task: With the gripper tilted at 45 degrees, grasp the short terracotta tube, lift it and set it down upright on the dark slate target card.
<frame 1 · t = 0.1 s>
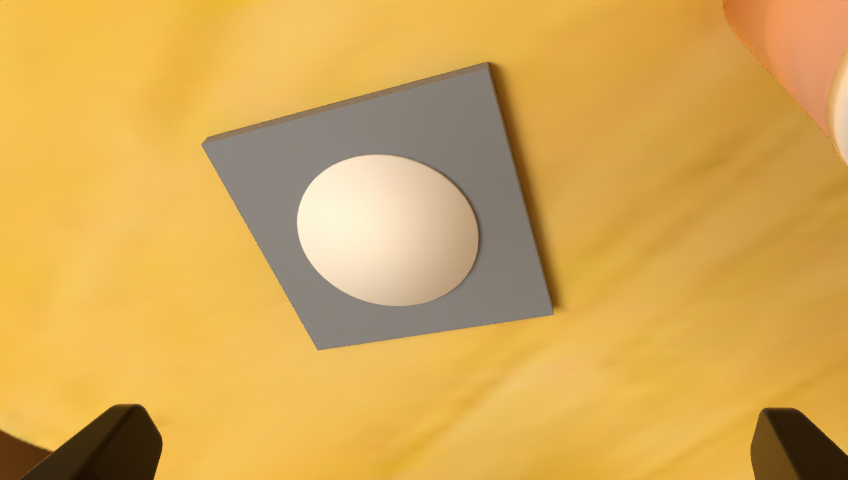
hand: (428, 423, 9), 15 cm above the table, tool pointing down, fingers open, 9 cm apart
target card: (389, 225, 25), on the table
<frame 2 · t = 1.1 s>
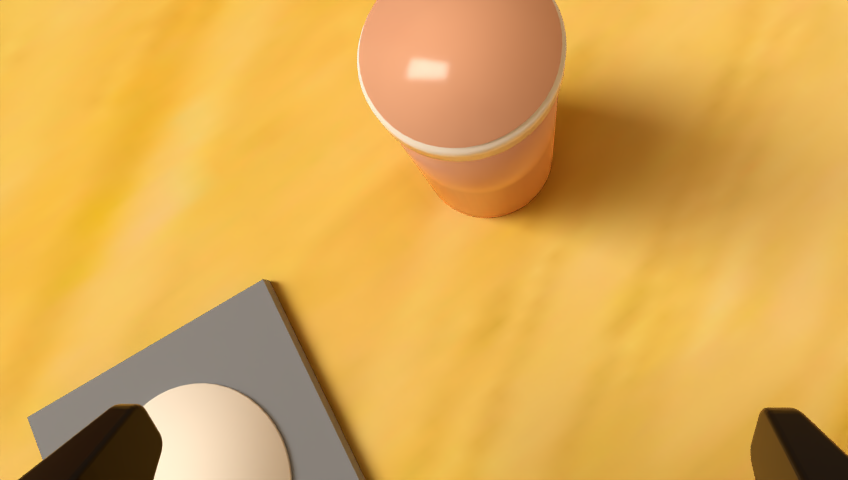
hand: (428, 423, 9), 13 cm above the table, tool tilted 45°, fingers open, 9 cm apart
terracotta tube: (487, 154, 23), on the table
target card: (207, 479, 23), on the table
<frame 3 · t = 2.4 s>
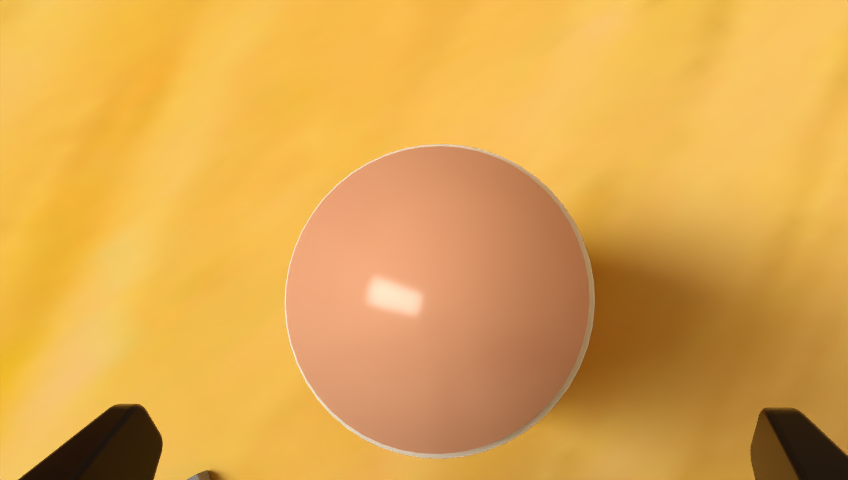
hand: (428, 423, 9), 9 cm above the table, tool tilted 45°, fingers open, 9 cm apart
terracotta tube: (481, 318, 18), on the table
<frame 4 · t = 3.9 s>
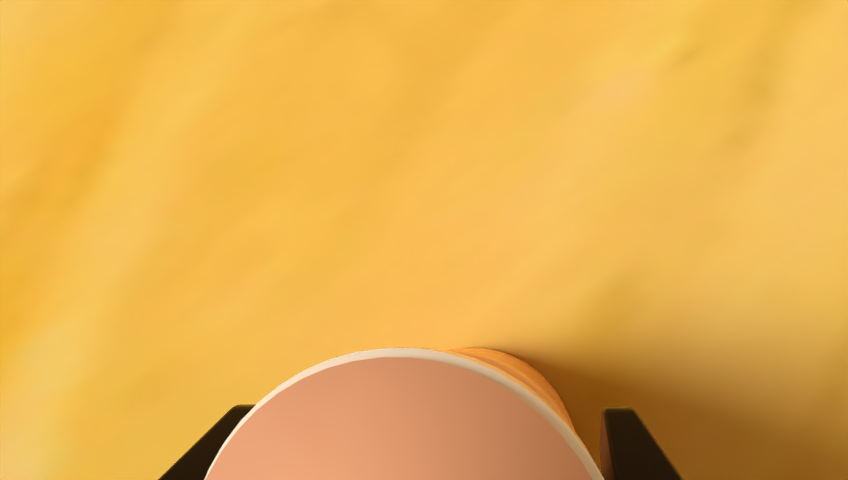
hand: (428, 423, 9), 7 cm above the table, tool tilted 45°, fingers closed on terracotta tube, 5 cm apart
terracotta tube: (475, 446, 15), on the table, touching gripper
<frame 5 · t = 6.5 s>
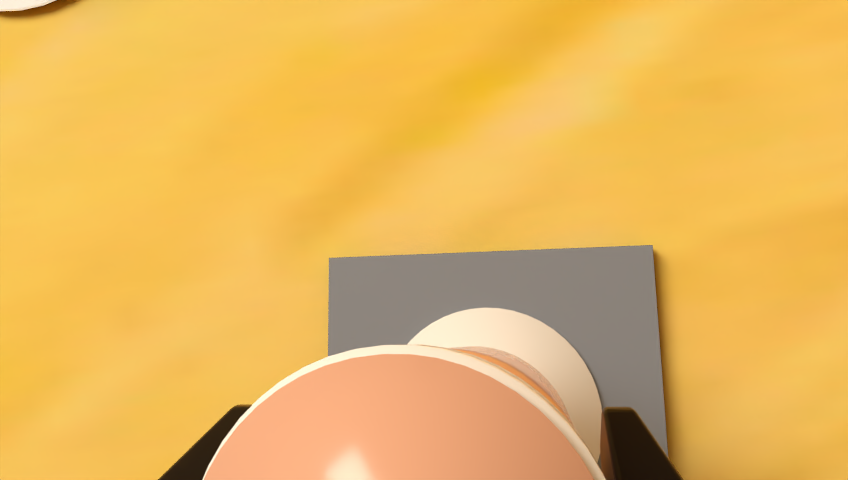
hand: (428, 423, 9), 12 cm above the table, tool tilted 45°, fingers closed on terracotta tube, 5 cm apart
terracotta tube: (475, 445, 15), point 6 cm above the table, touching gripper
target card: (490, 416, 21), on the table
when the fingers open (8 cm above the table, at t = 7.7 s): terracotta tube drops 1 cm, resting on target card.
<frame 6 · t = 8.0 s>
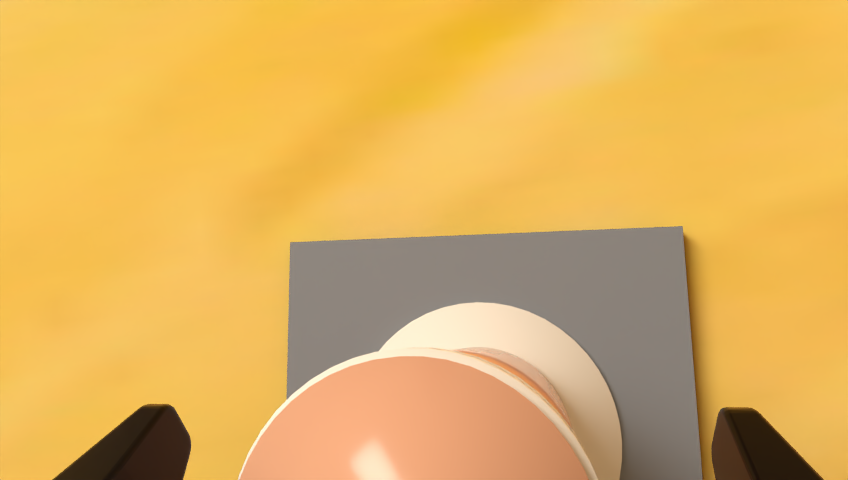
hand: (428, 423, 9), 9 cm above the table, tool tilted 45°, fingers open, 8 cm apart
terracotta tube: (479, 439, 16), point 1 cm above the table, touching target card
target card: (482, 434, 17), on the table
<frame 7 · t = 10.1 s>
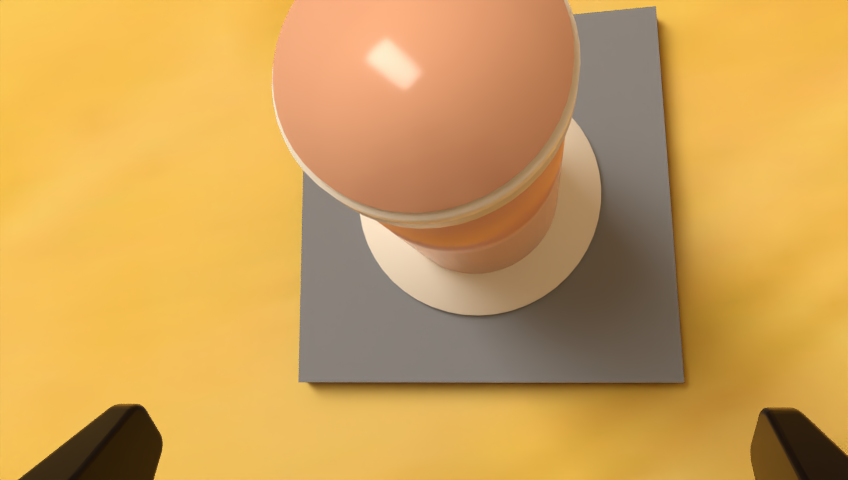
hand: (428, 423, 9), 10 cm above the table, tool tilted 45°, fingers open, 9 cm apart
terracotta tube: (475, 193, 18), point 1 cm above the table, touching target card
target card: (478, 199, 19), on the table
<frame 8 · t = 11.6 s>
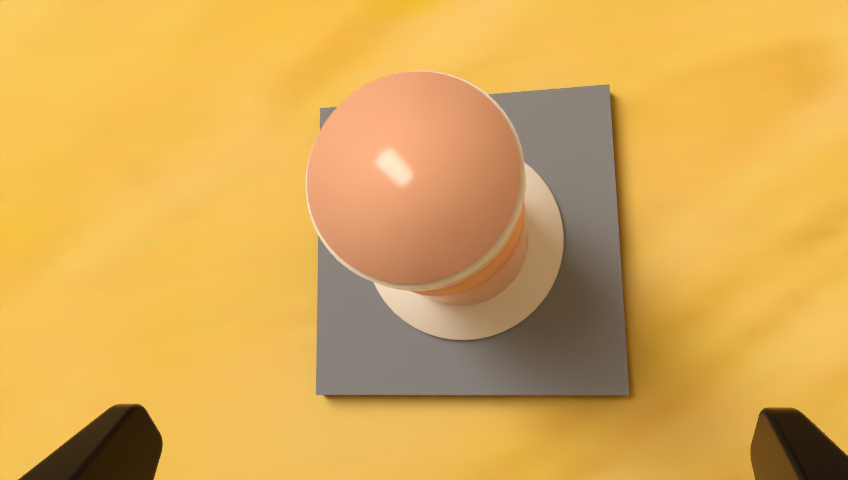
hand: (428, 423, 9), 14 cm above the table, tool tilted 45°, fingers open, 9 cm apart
terracotta tube: (461, 239, 22), point 1 cm above the table, touching target card
target card: (464, 242, 23), on the table
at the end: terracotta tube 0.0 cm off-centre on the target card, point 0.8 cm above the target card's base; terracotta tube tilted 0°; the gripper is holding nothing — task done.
